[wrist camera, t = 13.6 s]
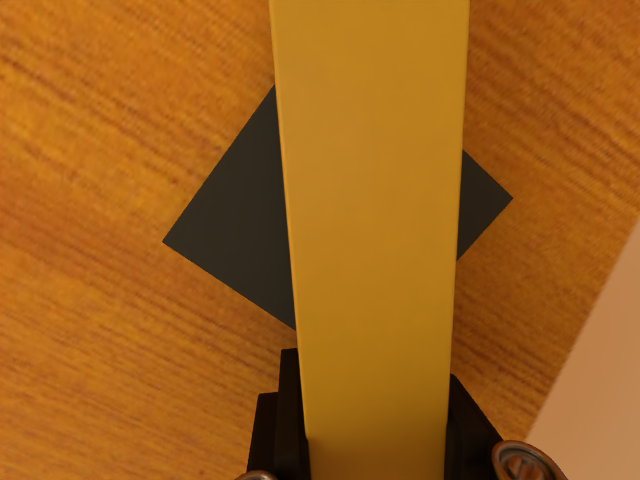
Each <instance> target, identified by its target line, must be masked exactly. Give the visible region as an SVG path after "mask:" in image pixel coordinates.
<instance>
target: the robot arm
mask: <svg viewBox="0 0 640 480" xmlns="http://www.w3.org/2000/svg"><path fill="white" fill-rule="evenodd" d="M235 480H311V472H310V460H309V448H308V440H307V439H306V435H305V424H304V412H303V400H302V389H301V377H300V366H299V354H298V350H297V348H292V349H282V350H281V360H280V374H279V389H278V392H271V393H262V394H259V395H258V400H257V407H256V413H255V420H254V426H253V433H252V439H251V446H250V452H249V459H248V465H247V472H246V473H245V474H242V475H240V476H239V477H238V478H236V479H235ZM444 480H568V479H567V478H566V476H565V475H564V473H563V472H562V471H561V469H560V468H559V467H558V466H557V464H556V463H555V462H554V461H553V460H552V459H551V458H550V457H549V456H548V455H546V454H545V453H544V452H542V451H541V450H539V449H537V448H536V447H534V446H532V445H530V444H527V443H524V442H521V441H516V440H505V441H504V440H503V439H502V438H501V436H500V435H499V434H498V432H497V431H496V430H495V428H494V427H493V426H492V424H491V423H490V422H489V420H488V419H487V417H486V416H485V415H484V413H483V412H482V411H481V409H480V408H479V407H478V405H477V404H476V403H475V401H474V400H473V399H472V397H471V396H470V395H469V393H468V392H467V391H466V389H465V388H464V387H463V385H462V384H461V383H460V381H459V380H458V379H457V377H456V376H455V375H453V374H450V383H449V401H448V419H447V427H446V445H445V463H444Z"/></svg>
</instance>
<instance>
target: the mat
mask: <svg viewBox="0 0 640 480" xmlns="http://www.w3.org/2000/svg"><path fill="white" fill-rule="evenodd" d="M512 199H513V197H512V196H511V195H510V194H509V193H508V192H507V191H506V190H505V189H503V188H502V187H501V186H500V185H499V184H498V183H497V182H496V181H495V180H494V179H493V178H492V177H491V176H490V175H489V174H488V173H487V172H486V171H485V170H484V169H483V168H482V167H481V166H479V165H478V164H477V163H476V162H475V161H474V160H473V159H472V158H471V157H470V156H469V155H468V154H467V153H466V152H465V151H464V150H463V149H462V165H461V183H460V201H459V220H458V238H457V256H456V261H457V260H458V259H459V258H460V257H461V256H462V255H463V254H464V252H465V251H466V250H467V249H468V248H469V247H470V246H471V245H472V244H473V242H474V241H475V240H476V239H477V238H478V237H479V236H480V235H481V234H482V233H483V231H484V230H485V229H486V228H487V227H488V226H489V225H490V224H491V223H492V221H493V220H494V219H495V218H496V217H497V216H498V215H499V214H500V213H501V211H502V210H503V209H504V208H505V207H506V206H507V205H508V204H509V203H510V202H511V200H512ZM162 242H163V243H164V244H166V245H167V246H169V247H170V248H172V249H173V250H175V251H176V252H178V253H179V254H181V255H182V256H184V257H185V258H187V259H188V260H190V261H191V262H193V263H194V264H196V265H197V266H199V267H200V268H202V269H203V270H205V271H206V272H208V273H209V274H211V275H212V276H214V277H215V278H217V279H218V280H220V281H222V282H223V283H225V284H226V285H228V286H229V287H231V288H232V289H234V290H235V291H237V292H238V293H240V294H241V295H243V296H244V297H246V298H247V299H249V300H250V301H252V302H253V303H255V304H256V305H258V306H259V307H261V308H262V309H264V310H265V311H267V312H268V313H270V314H271V315H273V316H274V317H276V318H277V319H279V320H280V321H282V322H283V323H285V324H286V325H288V326H289V327H291V328H292V329H294V330H295V331H296V319H295V308H294V296H293V284H292V273H291V261H290V250H289V238H288V226H287V215H286V203H285V192H284V180H283V169H282V157H281V145H280V134H279V122H278V111H277V99H276V87H275V84H274V86H273V87H272V88H271V90H270V91H269V93H268V94H267V95H266V97H265V98H264V100H263V101H262V102H261V104H260V105H259V107H258V108H257V109H256V111H255V112H254V114H253V115H252V116H251V118H250V119H249V121H248V122H247V123H246V125H245V126H244V128H243V129H242V130H241V132H240V133H239V135H238V136H237V137H236V139H235V140H234V142H233V143H232V144H231V146H230V147H229V149H228V150H227V151H226V153H225V154H224V156H223V157H222V158H221V160H220V161H219V163H218V164H217V165H216V167H215V168H214V170H213V171H212V172H211V174H210V175H209V177H208V178H207V179H206V181H205V182H204V183H203V185H202V186H201V188H200V189H199V190H198V192H197V193H196V195H195V196H194V197H193V199H192V200H191V202H190V203H189V204H188V206H187V207H186V209H185V210H184V211H183V213H182V214H181V216H180V217H179V218H178V220H177V221H176V223H175V224H174V225H173V227H172V228H171V230H170V231H169V232H168V234H167V235H166V237H165V238H164V239H163V241H162Z"/></svg>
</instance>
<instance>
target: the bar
mask: <svg viewBox="0 0 640 480" xmlns="http://www.w3.org/2000/svg"><path fill="white" fill-rule="evenodd" d="M470 2H471V0H268V6H269V18H270V29H271V41H272V53H273V64H274V76H275V87H276V99H277V111H278V122H279V134H280V145H281V157H282V169H283V180H284V192H285V203H286V215H287V226H288V238H289V250H290V261H291V273H292V284H293V296H294V308H295V319H296V331H297V342H298V354H299V366H300V377H301V389H302V400H303V412H304V424H305V435H306V439H307V440H308V448H309V460H310V472H311V480H444V463H445V445H446V427H447V419H448V401H449V383H450V365H451V347H452V328H453V310H454V292H455V274H456V256H457V238H458V220H459V201H460V183H461V165H462V147H463V129H464V111H465V93H466V74H467V56H468V38H469V20H470Z"/></svg>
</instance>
